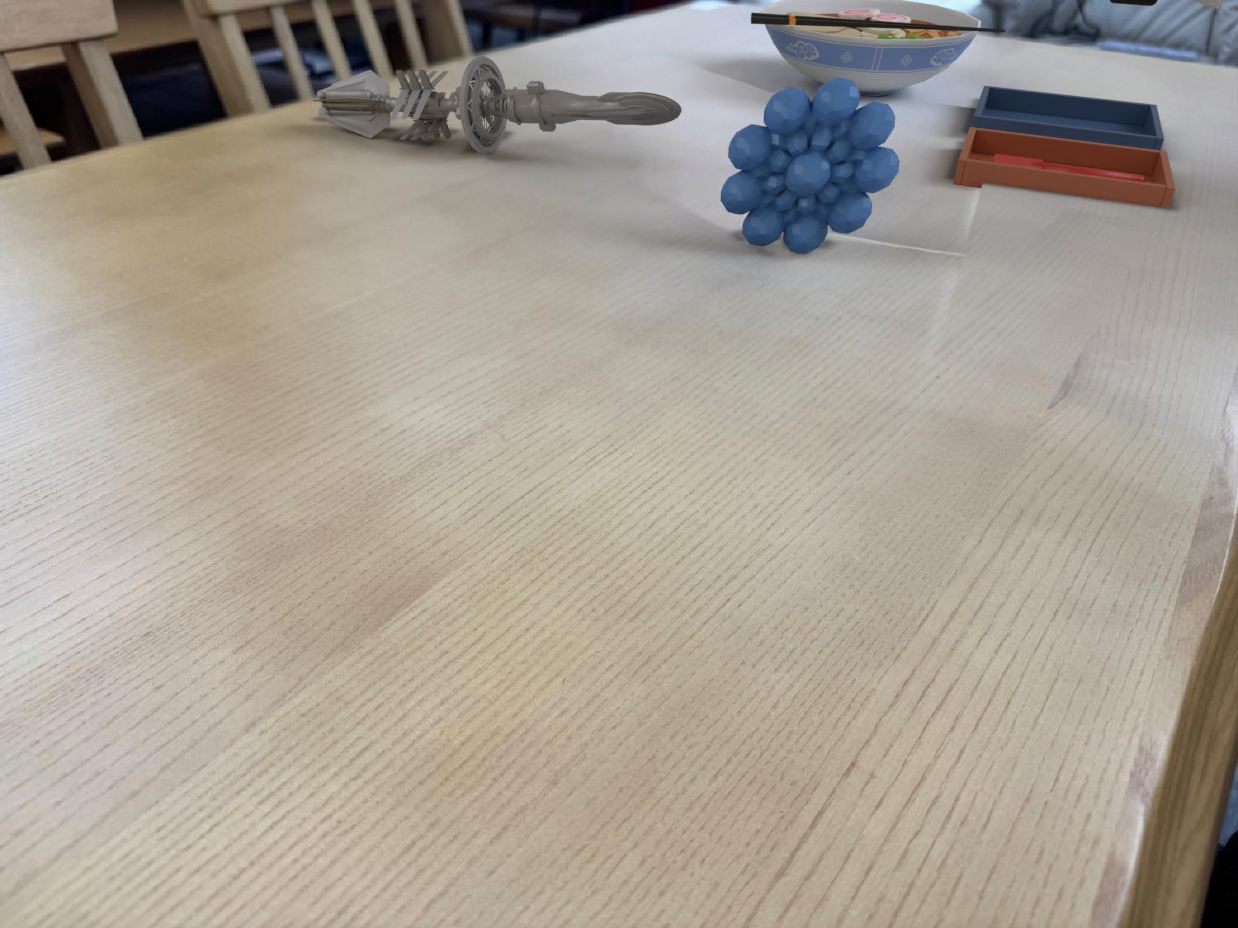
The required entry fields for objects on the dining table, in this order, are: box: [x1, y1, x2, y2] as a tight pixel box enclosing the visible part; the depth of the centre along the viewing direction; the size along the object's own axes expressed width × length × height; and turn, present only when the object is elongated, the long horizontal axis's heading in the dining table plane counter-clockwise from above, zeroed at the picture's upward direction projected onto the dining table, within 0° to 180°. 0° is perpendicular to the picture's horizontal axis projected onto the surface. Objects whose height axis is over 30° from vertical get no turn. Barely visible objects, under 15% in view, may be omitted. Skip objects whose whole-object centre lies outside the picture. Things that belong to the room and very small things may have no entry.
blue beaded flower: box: [720, 78, 900, 255], centre depth 68 cm, size 12×7×12 cm, turn 80°
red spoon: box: [992, 154, 1147, 183], centre depth 83 cm, size 12×3×1 cm, turn 69°
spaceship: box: [311, 55, 682, 155], centre depth 85 cm, size 8×35×8 cm
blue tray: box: [970, 85, 1165, 151], centre depth 95 cm, size 16×12×2 cm
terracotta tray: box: [952, 126, 1176, 208], centre depth 83 cm, size 16×10×2 cm, turn 69°
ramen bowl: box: [750, 0, 1006, 97], centre depth 106 cm, size 25×23×8 cm
